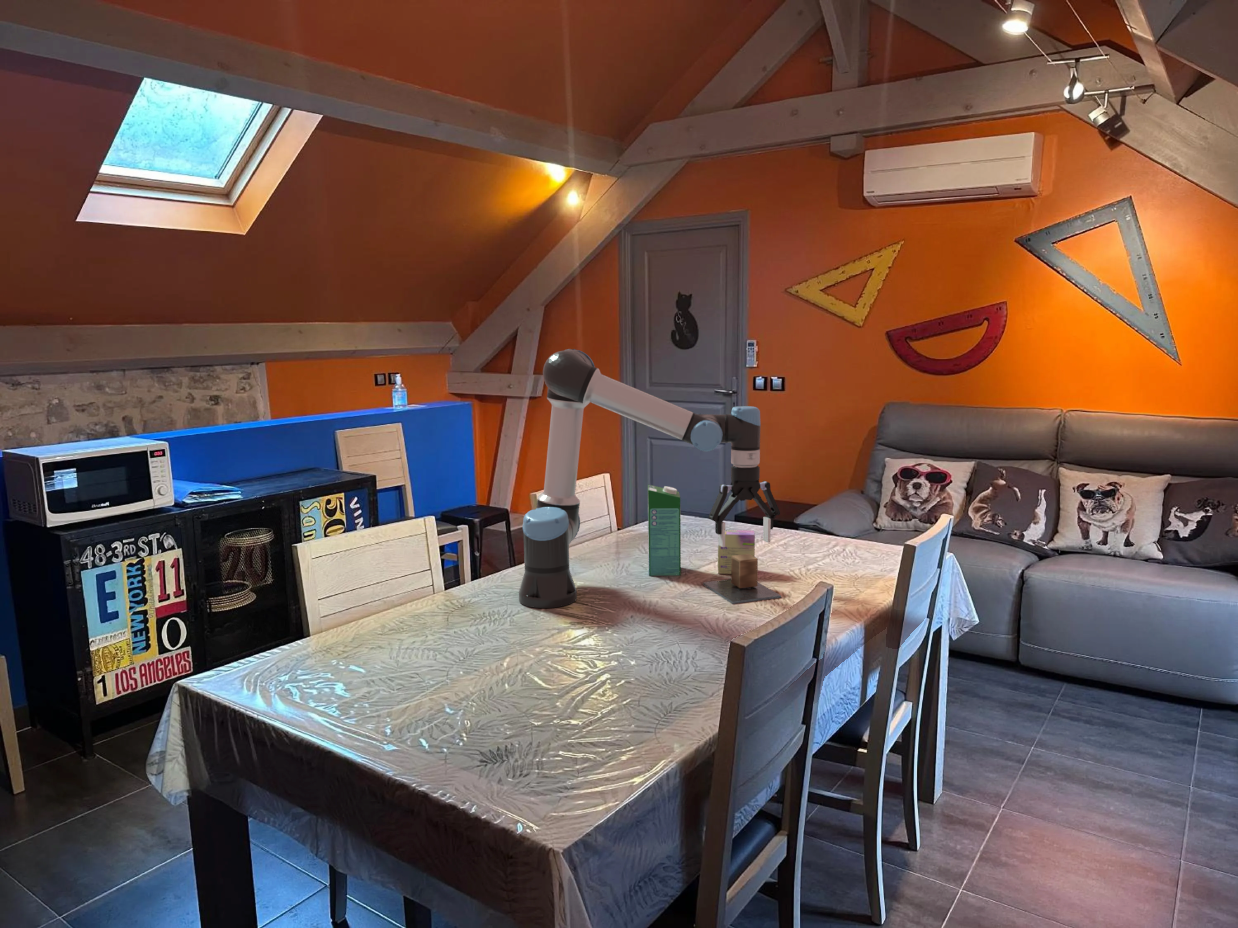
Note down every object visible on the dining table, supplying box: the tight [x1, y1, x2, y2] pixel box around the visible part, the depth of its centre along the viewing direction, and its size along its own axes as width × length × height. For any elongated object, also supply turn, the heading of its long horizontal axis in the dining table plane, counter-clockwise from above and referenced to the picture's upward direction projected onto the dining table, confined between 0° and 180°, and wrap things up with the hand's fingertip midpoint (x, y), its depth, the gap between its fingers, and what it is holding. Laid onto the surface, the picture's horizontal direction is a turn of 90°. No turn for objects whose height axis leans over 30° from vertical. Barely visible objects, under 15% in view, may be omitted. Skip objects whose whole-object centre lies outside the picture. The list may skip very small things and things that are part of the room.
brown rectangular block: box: [730, 554, 759, 588], centre depth 231 cm, size 5×5×8 cm
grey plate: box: [702, 578, 782, 605], centre depth 229 cm, size 14×18×8 cm
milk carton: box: [647, 484, 682, 577], centre depth 247 cm, size 9×9×25 cm
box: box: [717, 529, 756, 575], centre depth 246 cm, size 10×6×12 cm, turn 84°
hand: (744, 543), depth 230 cm, fingers open, 13 cm apart
